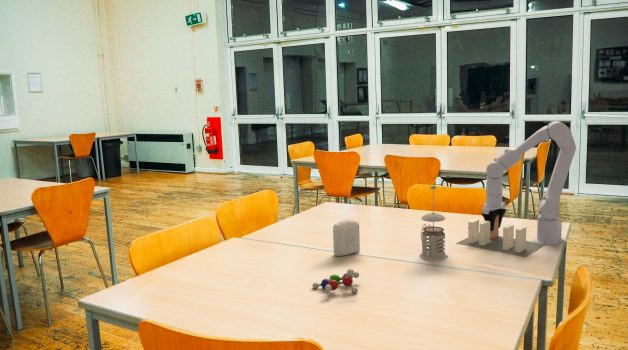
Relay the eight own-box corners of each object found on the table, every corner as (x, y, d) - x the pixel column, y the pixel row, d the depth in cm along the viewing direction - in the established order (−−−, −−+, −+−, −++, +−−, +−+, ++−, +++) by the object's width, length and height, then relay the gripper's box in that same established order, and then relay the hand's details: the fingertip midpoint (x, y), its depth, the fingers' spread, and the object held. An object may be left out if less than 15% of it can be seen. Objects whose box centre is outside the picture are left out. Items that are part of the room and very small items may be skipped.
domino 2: (485, 241, 189) (486, 220, 188) (489, 242, 188) (490, 221, 187) (479, 244, 186) (479, 223, 184) (483, 245, 185) (483, 224, 183)
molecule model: (307, 303, 149) (346, 301, 142) (301, 278, 149) (340, 275, 142) (333, 287, 162) (370, 285, 154) (328, 265, 162) (365, 261, 154)
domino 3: (508, 245, 183) (509, 224, 182) (513, 246, 182) (513, 224, 181) (502, 249, 180) (503, 227, 178) (507, 250, 178) (507, 228, 177)
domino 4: (521, 248, 180) (521, 226, 179) (525, 248, 179) (526, 226, 178) (515, 251, 177) (515, 229, 175) (519, 252, 175) (520, 230, 174)
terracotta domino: (494, 235, 196) (494, 215, 195) (498, 235, 195) (498, 215, 194) (488, 238, 193) (488, 217, 191) (492, 238, 191) (492, 218, 190)
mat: (478, 233, 201) (478, 232, 201) (546, 245, 183) (546, 244, 183) (455, 244, 189) (455, 243, 189) (526, 258, 171) (526, 257, 170)
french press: (453, 255, 177) (453, 184, 173) (436, 264, 169) (436, 190, 165) (428, 249, 184) (428, 181, 180) (410, 258, 176) (410, 187, 172)
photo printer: (354, 249, 189) (353, 216, 187) (361, 251, 185) (360, 218, 183) (331, 254, 183) (330, 221, 181) (338, 257, 179) (337, 223, 177)
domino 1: (474, 239, 192) (474, 218, 191) (478, 240, 191) (478, 219, 190) (468, 242, 189) (468, 221, 187) (472, 243, 188) (472, 222, 186)
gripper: (492, 189, 199) (492, 223, 201) (475, 195, 189) (474, 231, 191) (510, 191, 194) (509, 225, 196) (493, 198, 184) (492, 234, 186)
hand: (493, 228), depth 193 cm, fingers closed on terracotta domino, 5 cm apart
